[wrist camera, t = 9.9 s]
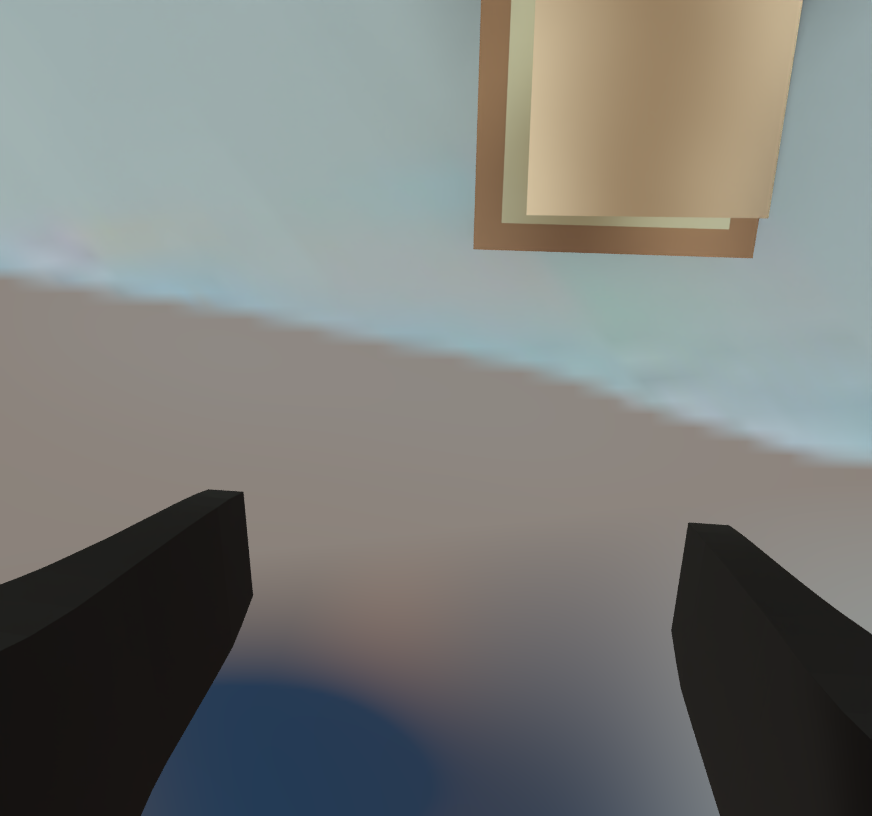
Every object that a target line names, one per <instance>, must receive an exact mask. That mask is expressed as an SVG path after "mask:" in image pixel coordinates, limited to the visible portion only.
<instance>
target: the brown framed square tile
mask: <svg viewBox="0 0 872 816" xmlns="http://www.w3.org/2000/svg"><path fill="white" fill-rule="evenodd" d="M534 23H535V0H481V23H480V55H479V88H478V120H477V153H476V185H475V218H474V249H484V250H515V251H546V252H577V253H608V254H639V255H670V256H702V257H733V258H753V252H754V246H755V240H756V234H757V228H758V222H759V218H704V217H628V216H551V215H526V213H527V188H528V165H529V141H530V117H531V94H532V70H533V46H534Z"/></svg>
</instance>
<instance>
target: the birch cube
mask: <svg viewBox="0 0 872 816" xmlns="http://www.w3.org/2000/svg"><path fill="white" fill-rule="evenodd" d="M802 2H803V0H535V23H534V46H533V70H532V94H531V117H530V141H529V165H528V188H527V213H526V215H551V216H628V217H704V218H768V217H769V210H770V204H771V198H772V191H773V185H774V179H775V173H776V166H777V160H778V154H779V147H780V141H781V135H782V128H783V122H784V116H785V109H786V103H787V97H788V91H789V84H790V78H791V72H792V65H793V59H794V53H795V46H796V40H797V34H798V27H799V21H800V15H801V9H802Z"/></svg>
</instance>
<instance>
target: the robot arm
mask: <svg viewBox="0 0 872 816" xmlns="http://www.w3.org/2000/svg"><path fill="white" fill-rule="evenodd" d="M248 548H249V547H248V537H247V527H246V515H245V504H244V494H243V492H237V491H222V490H209V489H208V490H206V491H203V492H200V493H198V494H195V495H193V496H191V497H189V498H187V499H184V500H182V501H180V502H178V503H176V504H174V505H172V506H170V507H168V508H166V509H164V510H162V511H160V512H158V513H156V514H154V515H152V516H150V517H148V518H146V519H144V520H142V521H140V522H138V523H136V524H135V525H133V526H130V527H129V528H126V529H125V530H123V531H121V532H119V533H117V534H115V535H113V536H111V537H109V538H107V539H105V540H103V541H100V542H98V543H96V544H94V545H92V546H89V547H87V548H85V549H83V550H81V551H79V552H76V553H74V554H72V555H70V556H68V557H66V558H63V559H62V560H59V561H57V562H55V563H53V564H51V565H48V566H46V567H43V568H42V569H39V570H36V571H34V572H31V573H29V574H27V575H24V576H22V577H19V578H17V579H14V580H11V581H9V582H6V583H3V584H0V816H141V814H142V812H143V809H144V807H145V805H146V803H147V800H148V798H149V796H150V794H151V791H152V789H153V788H154V786H155V783H156V782H157V780H158V778H159V776H160V774H161V772H162V770H163V768H164V766H165V765H166V763H167V761H168V759H169V757H170V755H171V754H172V752H173V750H174V749H175V747H176V745H177V743H178V742H179V740H180V738H181V737H182V735H183V733H184V731H185V730H186V728H187V726H188V724H189V723H190V721H191V719H192V718H193V716H194V714H195V712H196V710H197V709H198V707H199V705H200V704H201V702H202V700H203V699H204V697H205V695H206V693H207V692H208V690H209V688H210V686H211V685H212V683H213V681H214V679H215V678H216V676H217V674H218V672H219V670H220V669H221V667H222V665H223V663H224V662H225V660H226V658H227V656H228V654H229V653H230V651H231V649H232V647H233V645H234V642H235V640H236V637H237V635H238V633H239V630H240V628H241V626H242V623H243V620H244V618H245V615H246V613H247V610H248V607H249V605H250V602H251V599H252V597H253V590H252V580H251V570H250V558H249V549H248ZM671 631H672V637H673V644H674V651H675V657H676V664H677V669H678V675H679V680H680V686H681V690H682V694H683V697H684V701H685V704H686V707H687V711H688V714H689V717H690V721H691V724H692V727H693V730H694V734H695V737H696V740H697V743H698V747H699V749H700V753H701V756H702V759H703V762H704V766H705V769H706V772H707V775H708V778H709V782H710V785H711V788H712V791H713V795H714V798H715V801H716V804H717V807H718V810H719V814H720V816H872V634H871V633H869V632H868V631H866V630H865V629H863V628H862V627H860V626H859V625H857V624H856V623H855V622H854V621H852V620H851V619H849V618H848V617H846V616H845V615H844V614H842V613H841V612H839V611H838V610H836V609H835V608H834V607H832V606H831V605H830V604H828V603H827V602H826V601H825V600H823V599H822V598H821V597H819V596H818V595H817V594H815V593H814V592H813V591H811V590H810V589H809V588H808V587H806V586H805V585H804V584H803V583H801V582H800V581H799V580H798V579H796V578H795V577H794V576H793V575H791V574H790V573H789V572H788V571H786V570H785V569H784V568H782V567H781V566H780V565H779V564H778V563H776V562H775V561H774V560H773V559H771V558H770V557H769V556H768V555H767V554H765V553H764V552H763V551H762V550H760V549H759V548H758V547H757V546H756V545H754V544H753V543H752V542H751V541H749V540H748V539H747V538H746V537H744V536H743V535H742V534H740V533H739V532H738V531H736V530H735V529H733V528H732V527H731V526H729V525H716V524H702V523H688V528H687V534H686V541H685V547H684V553H683V561H682V566H681V573H680V579H679V585H678V592H677V598H676V605H675V611H674V617H673V623H672V630H671Z"/></svg>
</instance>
